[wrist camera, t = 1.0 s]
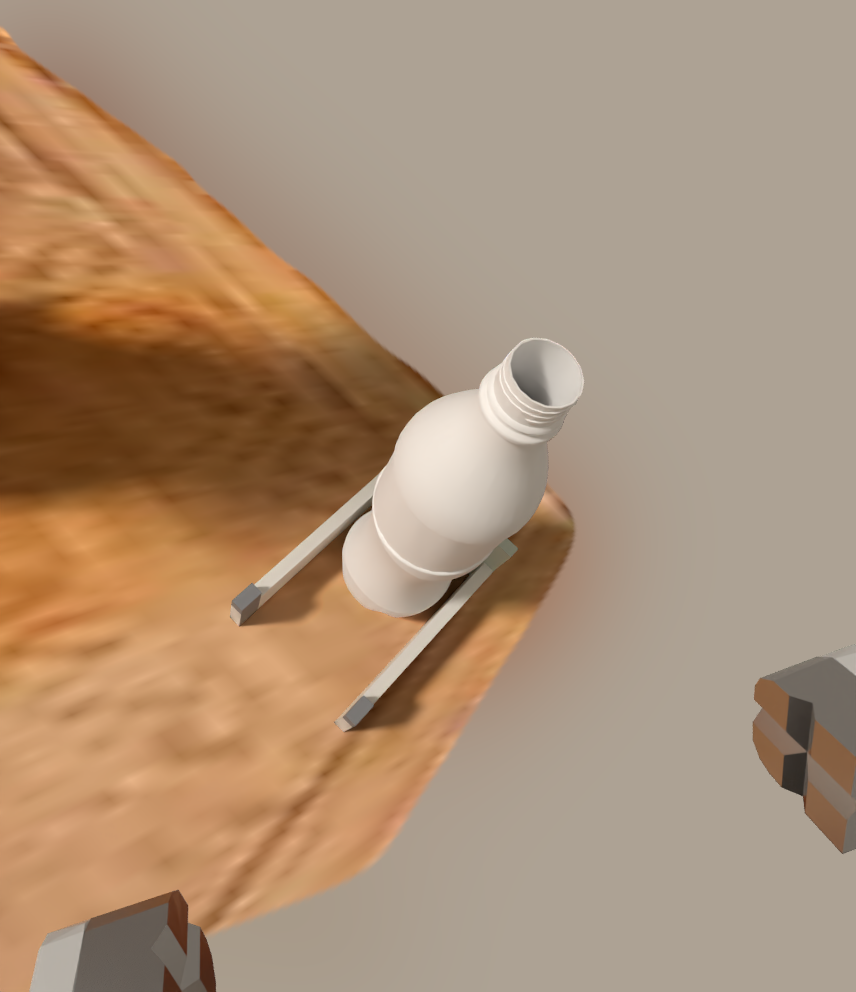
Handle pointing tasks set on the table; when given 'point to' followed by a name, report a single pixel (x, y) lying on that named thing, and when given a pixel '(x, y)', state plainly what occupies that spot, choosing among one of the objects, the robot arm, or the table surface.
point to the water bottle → (461, 481)
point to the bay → (364, 702)
